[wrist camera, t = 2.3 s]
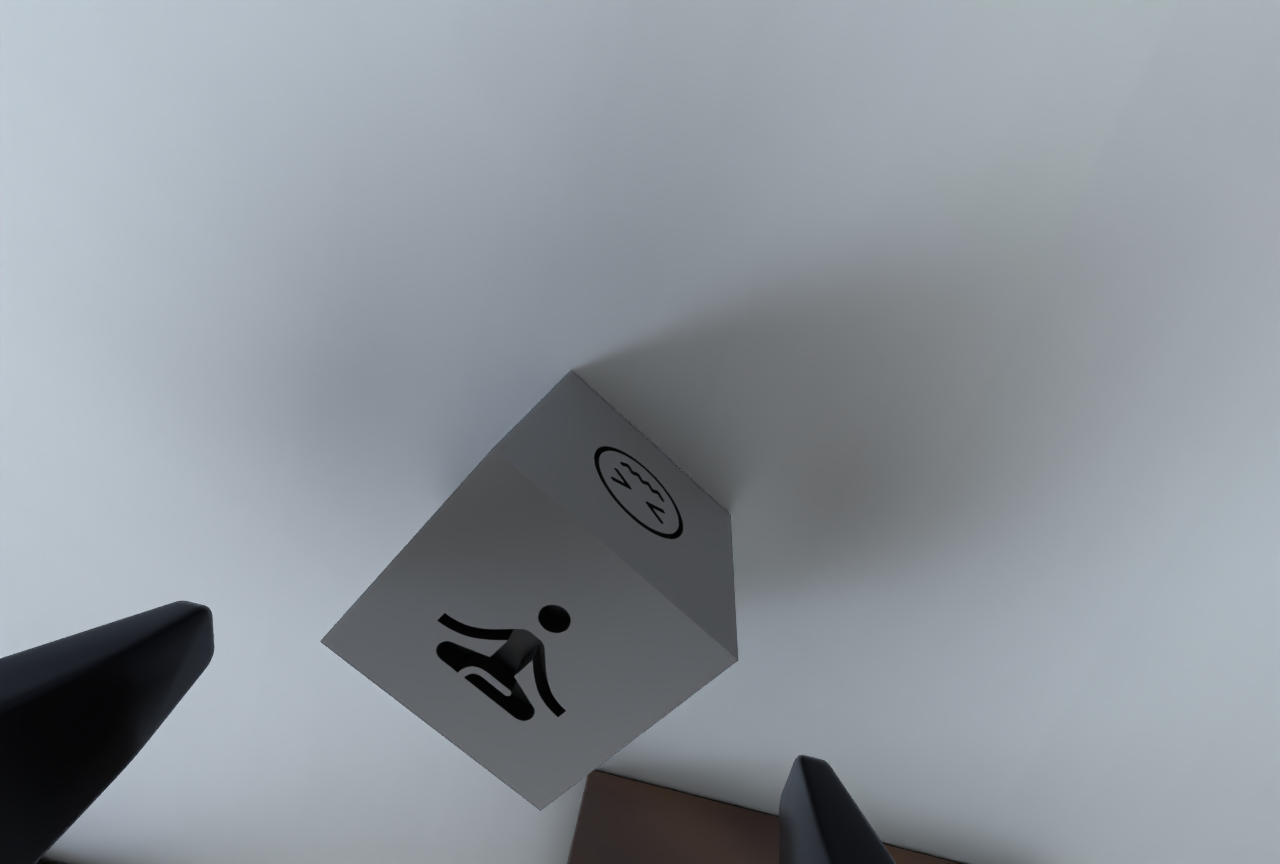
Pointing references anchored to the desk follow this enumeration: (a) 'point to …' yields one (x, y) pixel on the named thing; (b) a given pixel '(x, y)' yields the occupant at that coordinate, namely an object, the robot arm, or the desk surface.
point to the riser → (677, 828)
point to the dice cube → (553, 599)
